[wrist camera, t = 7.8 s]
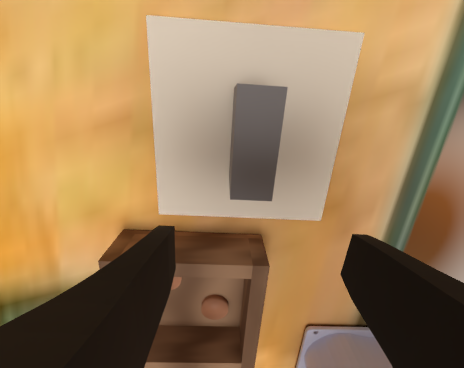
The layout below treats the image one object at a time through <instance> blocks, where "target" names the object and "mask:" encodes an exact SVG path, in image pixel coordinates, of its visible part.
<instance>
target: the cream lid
mask: <svg viewBox="0 0 464 368" xmlns="http://www.w3.org/2000/svg"><path fill="white" fill-rule="evenodd" d="M146 21H147V36H148V52H149V68H150V83H151V99H152V114H153V130H154V145H155V161H156V176H157V192H158V207H159V214H166V215H191V216H216V217H241V218H265V219H290V220H315V221H321V218H322V213H323V209H324V205H325V201H326V196H327V192H328V188H329V183H330V179H331V175H332V170H333V166H334V162H335V158H336V153H337V149H338V145H339V140H340V136H341V132H342V127H343V123H344V119H345V115H346V110H347V106H348V102H349V97H350V93H351V89H352V84H353V80H354V76H355V72H356V67H357V63H358V59H359V54H360V50H361V46H362V41H363V37H364V33H360V32H348V31H336V30H323V29H311V28H299V27H286V26H274V25H262V24H249V23H237V22H225V21H212V20H200V19H188V18H175V17H163V16H151V15H146Z"/></svg>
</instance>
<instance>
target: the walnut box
mask: <svg viewBox="0 0 464 368" xmlns="http://www.w3.org/2000/svg"><path fill="white" fill-rule="evenodd" d="M150 232H151V231H149V230H123V231H122V232H121V233H120V234H119V236H118V237H117V238H116V239H115V241H114V242H113V243H112V244H111V246H110V247H109V248H108V249H107V251H106V252H105V253H104V255H103V256H102V257H101V258H100V260H99V261H98V262H99V268H100V269H101V268H103V267H104V266H106V265H107V264H109V263H110V262H111V261H113V260H114V259H116V258H117V257H119V256H120V255H121V254H123V253H124V252H125V251H127V250H128V249H129V248H131V247H132V246H133V245H135V244H136V243H137V242H138V241H140V240H141V239H142V238H144V237H145V236H146V235H147V234H149V233H150ZM175 262H176V269H175V274H174V278H173V283H172V287H171V291H170V295H169V298H168V301H167V303H166V306H165V309H164V312H163V315H162V318H161V321H160V323H159V326H158V329H157V332H156V335H155V338H154V340H153V343H152V346H151V349H150V352H149V355H148V358H147V361H146V364H145V367H144V368H254V366H255V360H256V353H257V346H258V340H259V333H260V326H261V319H262V313H263V306H264V299H265V293H266V286H267V279H268V273H269V263H268V259H267V255H266V251H265V247H264V244H263V240H262V236H261V235H256V234H229V233H203V232H176V231H175Z"/></svg>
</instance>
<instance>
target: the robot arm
mask: <svg viewBox="0 0 464 368" xmlns="http://www.w3.org/2000/svg"><path fill="white" fill-rule="evenodd" d="M175 269H176V262H175V229H174V226H158V227H156V228H155V229H154V230H152V231H151V232H150V233H149V234H147V235H146V236H145V237H144V238H142V239H141V240H140V241H138V242H137V243H136V244H135V245H133V246H132V247H131V248H129V249H128V250H127V251H125V252H124V253H123V254H121V255H120V256H119V257H117V258H116V259H114V260H113V261H111V262H110V263H109V264H107V265H106V266H104V267H103V268H101V269H100V270H98V271H97V272H96V273H94V274H93V275H91V276H90V277H88V278H86V279H85V280H83V281H82V282H80V283H78V284H77V285H75V286H74V287H72V288H70V289H68V290H67V291H65V292H63V293H62V294H60V295H58V296H57V297H55V298H53V299H51V300H50V301H48V302H46V303H44V304H42V305H40V306H38V307H36V308H35V309H33V310H31V311H29V312H27V313H25V314H23V315H21V316H19V317H17V318H15V319H14V320H12V321H10V322H8V323H6V324H4V325H2V326H0V368H144V367H145V364H146V361H147V358H148V355H149V352H150V349H151V346H152V343H153V340H154V338H155V335H156V332H157V329H158V326H159V323H160V321H161V318H162V315H163V312H164V309H165V306H166V303H167V301H168V298H169V295H170V291H171V287H172V283H173V278H174V274H175ZM341 276H342V279H343V281H344V283H345V286H346V288H347V290H348V292H349V295H350V297H351V299H352V300H353V302H354V304H355V306H356V307H357V309H358V311H359V312H360V314H361V316H362V317H363V319H364V321H365V322H366V324H367V326H368V327H333V326H309V327H307V328H306V329H305V333H304V337H303V341H302V345H301V349H300V353H299V357H298V361H297V365H296V368H464V283H462V282H460V281H458V280H456V279H454V278H452V277H450V276H448V275H446V274H444V273H442V272H440V271H438V270H436V269H434V268H432V267H431V266H429V265H427V264H425V263H423V262H421V261H419V260H417V259H415V258H413V257H411V256H409V255H408V254H406V253H404V252H402V251H400V250H398V249H396V248H394V247H392V246H390V245H388V244H386V243H384V242H382V241H380V240H378V239H376V238H374V237H371V236H369V235H359V234H352V238H351V241H350V244H349V248H348V251H347V254H346V258H345V261H344V264H343V268H342V271H341Z"/></svg>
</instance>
